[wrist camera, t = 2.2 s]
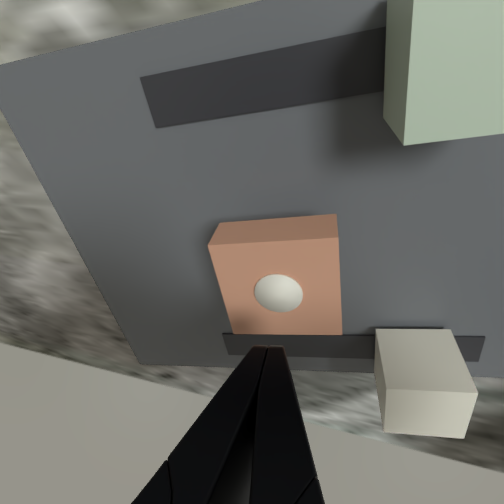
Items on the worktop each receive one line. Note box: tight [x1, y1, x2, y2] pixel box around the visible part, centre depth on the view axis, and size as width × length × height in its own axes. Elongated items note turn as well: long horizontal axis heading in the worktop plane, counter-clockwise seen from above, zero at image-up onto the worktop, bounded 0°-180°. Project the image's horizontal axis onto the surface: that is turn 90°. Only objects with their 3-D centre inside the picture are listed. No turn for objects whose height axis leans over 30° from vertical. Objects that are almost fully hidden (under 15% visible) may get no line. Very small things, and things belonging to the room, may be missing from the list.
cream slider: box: [374, 329, 478, 439], centre depth 14 cm, size 3×3×3 cm
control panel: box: [0, 0, 504, 378], centre depth 14 cm, size 20×16×2 cm
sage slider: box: [383, 0, 504, 146], centre depth 7 cm, size 3×3×3 cm
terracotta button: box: [208, 214, 342, 335], centre depth 11 cm, size 4×4×2 cm
